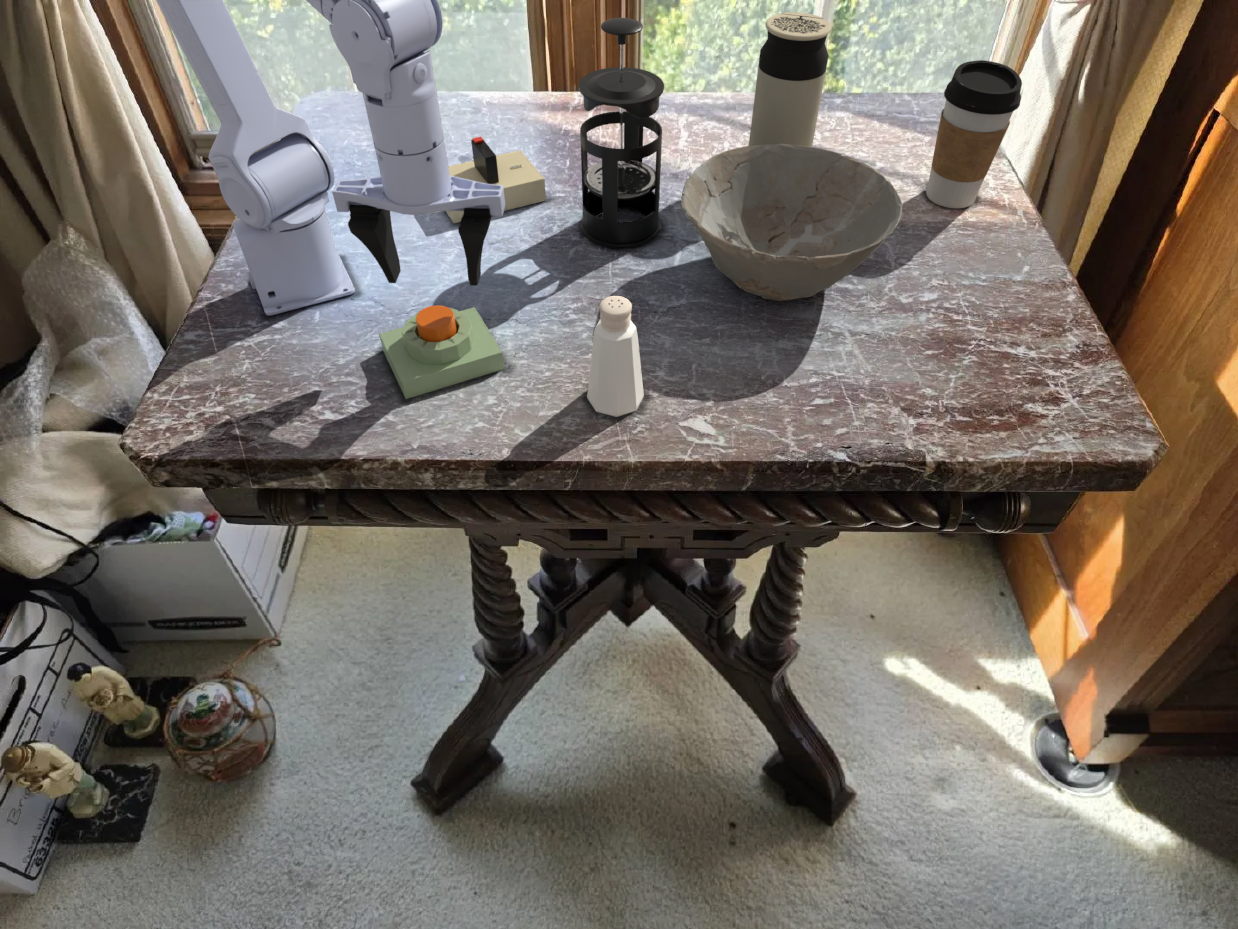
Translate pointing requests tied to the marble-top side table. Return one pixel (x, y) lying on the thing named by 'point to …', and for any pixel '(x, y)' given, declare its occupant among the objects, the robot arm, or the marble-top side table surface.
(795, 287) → the ceramic bowl
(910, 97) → the marble-top side table surface
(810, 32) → the travel mug
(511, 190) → the dial panel
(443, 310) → the button
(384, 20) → the robot arm
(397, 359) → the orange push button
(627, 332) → the salt shaker
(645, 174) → the french press
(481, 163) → the knob
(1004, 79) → the coffee cup
